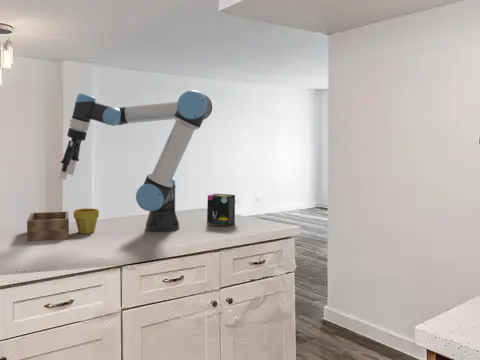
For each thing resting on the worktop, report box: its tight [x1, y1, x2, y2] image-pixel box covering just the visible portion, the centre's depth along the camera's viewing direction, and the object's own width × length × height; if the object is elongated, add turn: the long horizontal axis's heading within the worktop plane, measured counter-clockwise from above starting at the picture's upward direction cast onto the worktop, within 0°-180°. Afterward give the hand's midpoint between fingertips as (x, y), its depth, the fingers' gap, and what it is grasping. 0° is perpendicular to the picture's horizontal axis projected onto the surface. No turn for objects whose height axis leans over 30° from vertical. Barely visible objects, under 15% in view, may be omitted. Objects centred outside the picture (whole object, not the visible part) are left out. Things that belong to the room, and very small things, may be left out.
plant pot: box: [73, 207, 100, 234], centre depth 200 cm, size 10×10×10 cm
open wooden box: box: [26, 210, 70, 242], centre depth 194 cm, size 15×22×8 cm
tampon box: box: [206, 193, 236, 228], centre depth 222 cm, size 11×9×15 cm
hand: (66, 176), depth 200 cm, fingers open, 13 cm apart
